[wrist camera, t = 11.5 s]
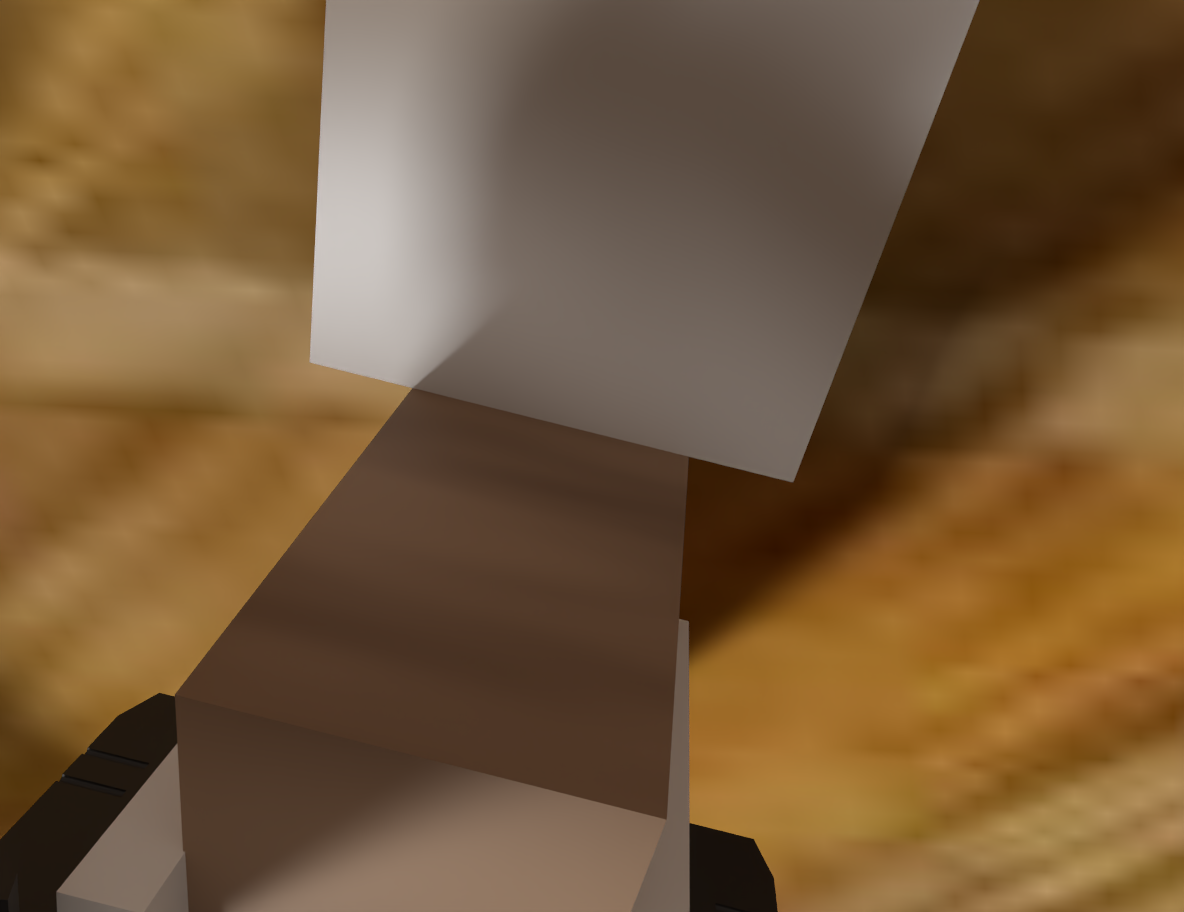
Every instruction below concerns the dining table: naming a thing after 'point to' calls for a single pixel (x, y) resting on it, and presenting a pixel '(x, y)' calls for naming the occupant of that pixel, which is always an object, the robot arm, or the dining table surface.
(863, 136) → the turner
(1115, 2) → the dining table surface
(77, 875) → the robot arm
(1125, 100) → the dining table surface
